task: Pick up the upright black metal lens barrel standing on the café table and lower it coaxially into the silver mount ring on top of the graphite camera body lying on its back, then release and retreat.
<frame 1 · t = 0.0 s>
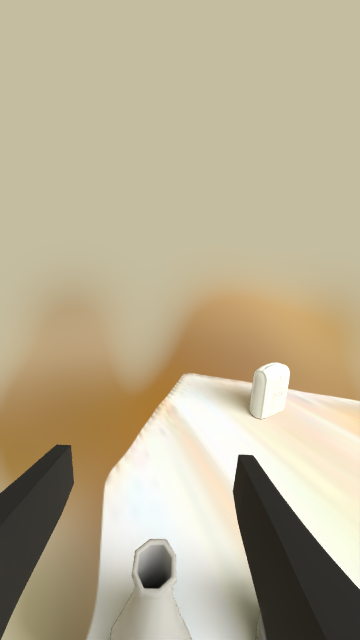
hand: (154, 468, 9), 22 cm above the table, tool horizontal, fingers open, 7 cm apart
white rounded slab: (267, 412, 53), on the table
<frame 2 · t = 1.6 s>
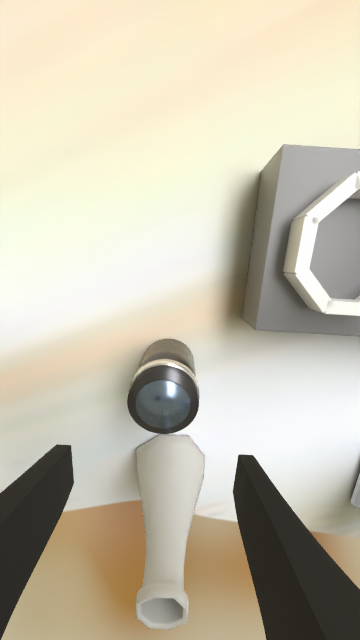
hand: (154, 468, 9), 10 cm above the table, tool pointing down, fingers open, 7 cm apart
camera body: (339, 255, 17), on the table
lens: (168, 362, 19), on the table
flask: (170, 459, 22), on the table
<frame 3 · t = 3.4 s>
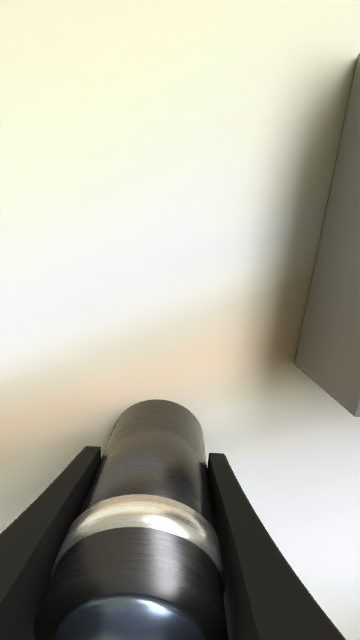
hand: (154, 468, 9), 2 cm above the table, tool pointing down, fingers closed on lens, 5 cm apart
lens: (158, 439, 11), on the table, touching gripper
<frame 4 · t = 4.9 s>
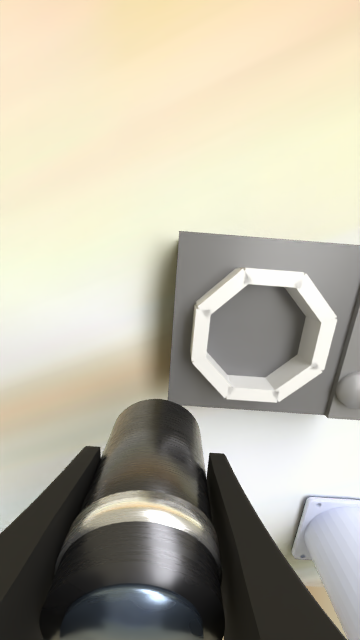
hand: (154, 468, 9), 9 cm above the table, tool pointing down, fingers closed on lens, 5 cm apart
camera body: (264, 320, 17), on the table
lens: (156, 437, 11), point 7 cm above the table, touching gripper
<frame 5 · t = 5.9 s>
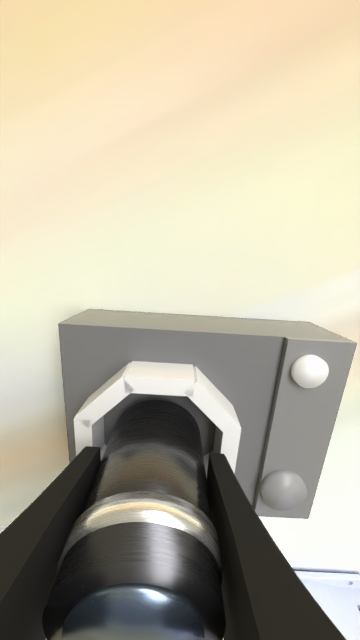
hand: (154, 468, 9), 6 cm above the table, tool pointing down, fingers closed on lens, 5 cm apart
camera body: (193, 392, 15), on the table
lens: (156, 437, 11), point 4 cm above the table, touching gripper
when the fingers open (6 cm above the table, at t = 6.7 s): lens stays where it is, resting on camera body.
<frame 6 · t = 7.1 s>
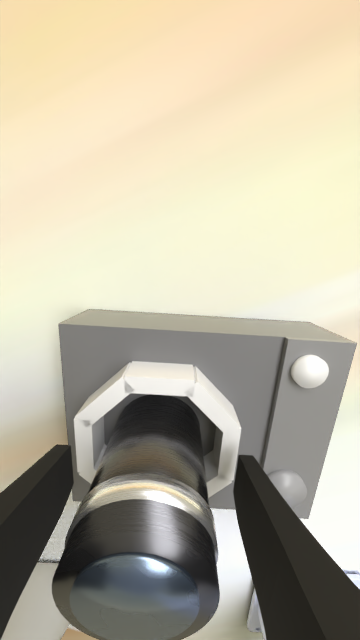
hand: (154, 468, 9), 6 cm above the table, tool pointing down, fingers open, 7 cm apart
camera body: (193, 392, 15), on the table
lens: (158, 430, 12), point 4 cm above the table, touching camera body
flask: (46, 580, 20), on the table
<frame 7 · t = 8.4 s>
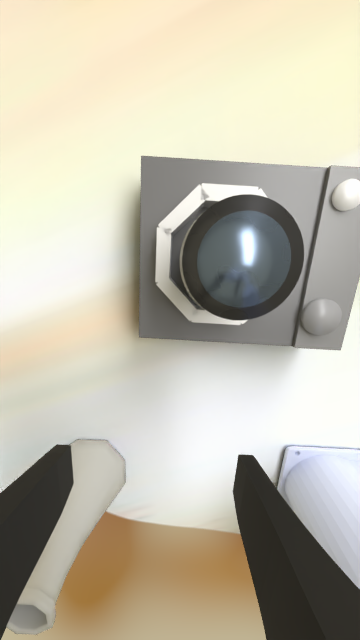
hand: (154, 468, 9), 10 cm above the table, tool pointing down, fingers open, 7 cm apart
camera body: (235, 262, 17), on the table
lens: (216, 263, 14), point 3 cm above the table, touching camera body
flask: (93, 463, 22), on the table
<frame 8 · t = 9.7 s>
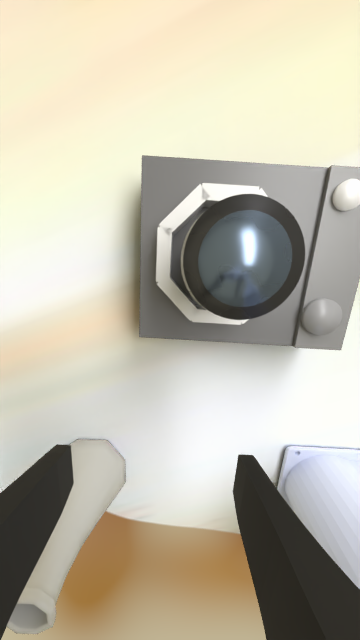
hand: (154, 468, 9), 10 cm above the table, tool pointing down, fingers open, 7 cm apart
camera body: (236, 262, 17), on the table
lens: (217, 263, 14), point 3 cm above the table, touching camera body
flask: (93, 463, 22), on the table
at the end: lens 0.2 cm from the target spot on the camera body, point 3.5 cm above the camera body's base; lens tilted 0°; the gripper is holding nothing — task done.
